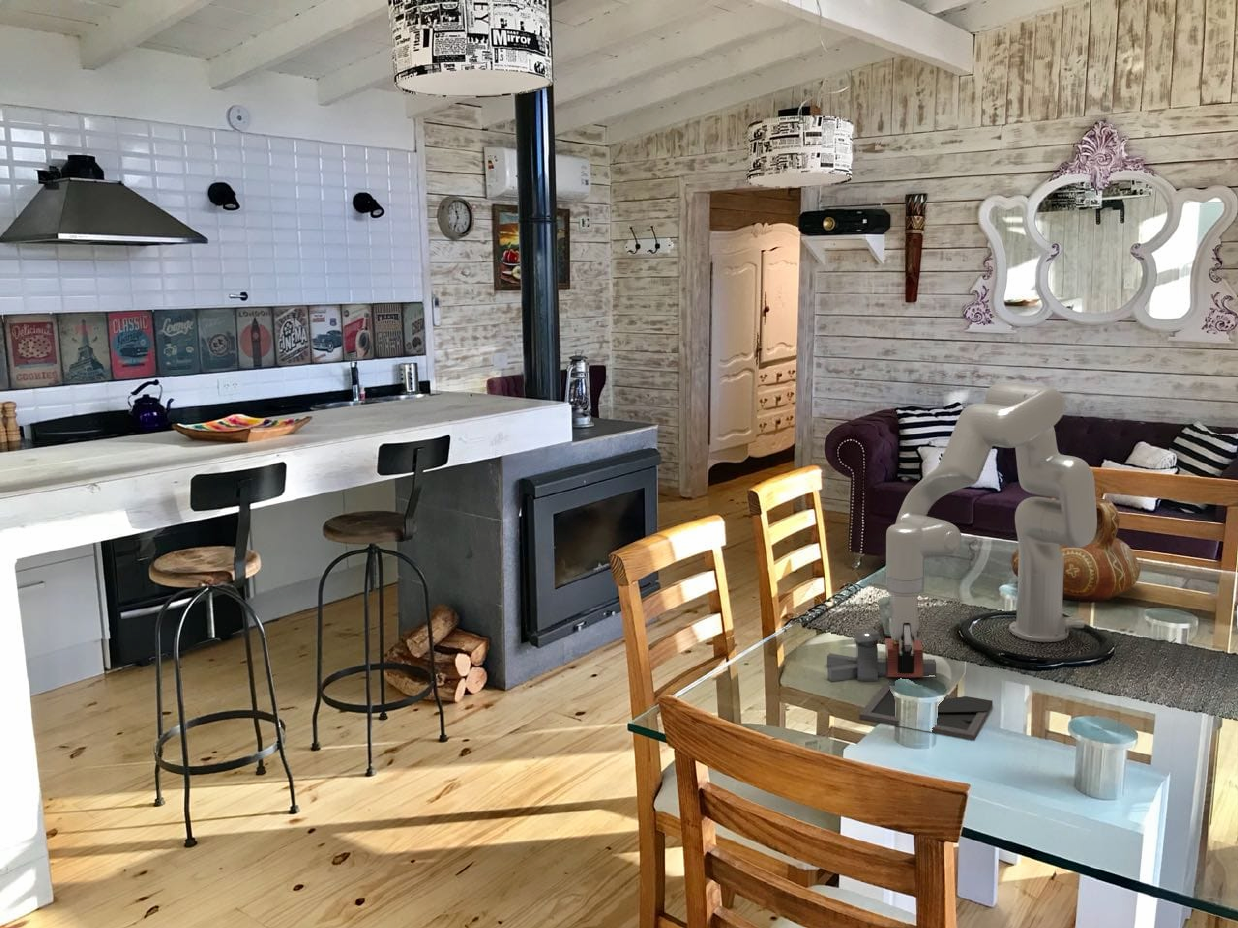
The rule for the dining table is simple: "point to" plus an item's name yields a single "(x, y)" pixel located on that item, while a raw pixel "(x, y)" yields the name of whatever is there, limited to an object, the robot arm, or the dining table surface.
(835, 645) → the dining table surface
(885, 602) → the decorative stone
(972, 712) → the picture frame
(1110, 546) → the jug
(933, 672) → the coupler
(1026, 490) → the robot arm
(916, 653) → the block
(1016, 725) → the dining table surface
